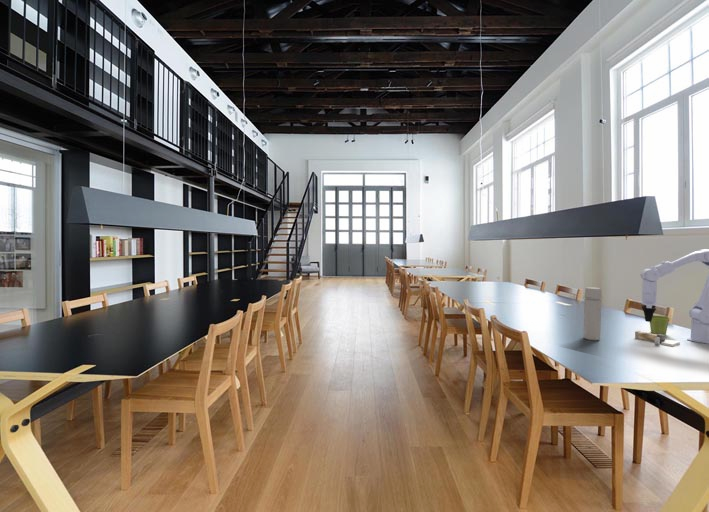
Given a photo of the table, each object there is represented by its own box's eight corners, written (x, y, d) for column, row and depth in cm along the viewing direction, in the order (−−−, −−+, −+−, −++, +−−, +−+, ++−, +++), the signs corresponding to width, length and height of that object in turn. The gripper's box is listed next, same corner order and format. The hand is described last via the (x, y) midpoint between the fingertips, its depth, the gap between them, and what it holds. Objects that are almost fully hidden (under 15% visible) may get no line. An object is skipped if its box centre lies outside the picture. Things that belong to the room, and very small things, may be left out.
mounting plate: (679, 344, 182) (679, 341, 182) (672, 346, 177) (672, 344, 177) (668, 341, 185) (668, 339, 185) (661, 344, 181) (661, 342, 181)
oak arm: (665, 342, 184) (666, 335, 184) (663, 343, 183) (663, 336, 182) (637, 337, 194) (638, 330, 194) (634, 338, 192) (635, 330, 192)
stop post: (660, 345, 180) (660, 337, 179) (658, 345, 179) (658, 338, 179) (655, 344, 181) (656, 336, 181) (654, 344, 180) (654, 337, 180)
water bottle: (603, 341, 186) (605, 289, 185) (585, 340, 188) (587, 288, 186) (595, 336, 195) (597, 286, 194) (578, 335, 197) (580, 286, 195)
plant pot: (642, 332, 204) (643, 316, 203) (653, 330, 208) (654, 314, 207) (663, 336, 195) (664, 319, 195) (673, 334, 199) (674, 317, 199)
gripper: (639, 290, 201) (638, 317, 202) (639, 294, 189) (638, 322, 190) (656, 292, 197) (655, 318, 198) (657, 295, 185) (656, 323, 186)
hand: (648, 320), depth 193 cm, fingers open, 5 cm apart
